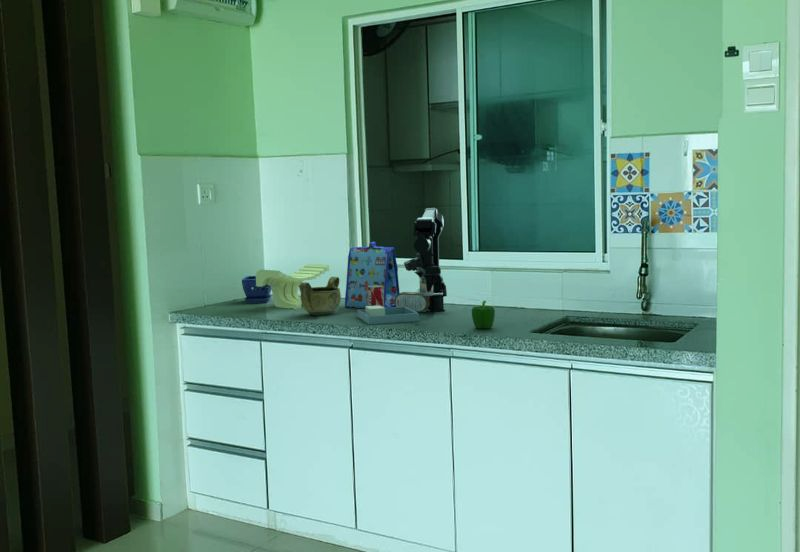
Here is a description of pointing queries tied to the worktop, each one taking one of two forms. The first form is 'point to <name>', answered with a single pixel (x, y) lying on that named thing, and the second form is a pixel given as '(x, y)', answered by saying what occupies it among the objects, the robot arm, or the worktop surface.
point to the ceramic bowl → (320, 297)
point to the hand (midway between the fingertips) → (426, 290)
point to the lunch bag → (371, 274)
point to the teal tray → (390, 316)
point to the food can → (424, 288)
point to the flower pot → (255, 291)
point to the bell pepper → (483, 316)
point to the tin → (412, 301)
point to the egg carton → (374, 310)
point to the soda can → (375, 295)
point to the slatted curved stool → (288, 283)
